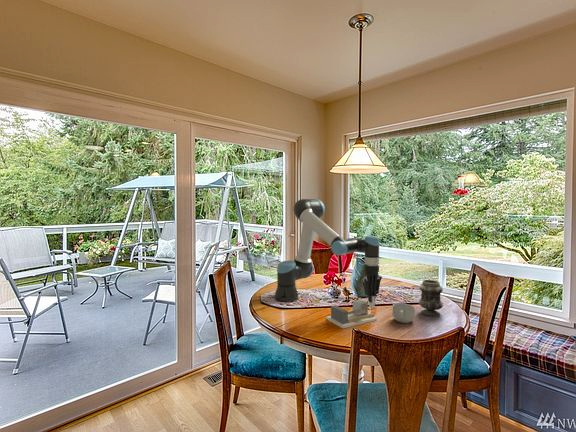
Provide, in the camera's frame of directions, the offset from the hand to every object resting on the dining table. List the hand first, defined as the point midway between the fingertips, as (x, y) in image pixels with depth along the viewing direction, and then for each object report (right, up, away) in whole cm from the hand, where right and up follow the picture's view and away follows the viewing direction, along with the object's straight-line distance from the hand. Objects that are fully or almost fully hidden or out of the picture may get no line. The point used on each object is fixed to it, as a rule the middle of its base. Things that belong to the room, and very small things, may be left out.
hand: (371, 307), depth 167 cm
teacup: (+13, -5, -10) cm, 17 cm away
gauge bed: (-12, -4, -6) cm, 15 cm away
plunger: (-6, -3, -5) cm, 9 cm away
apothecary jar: (+33, -4, +2) cm, 33 cm away
